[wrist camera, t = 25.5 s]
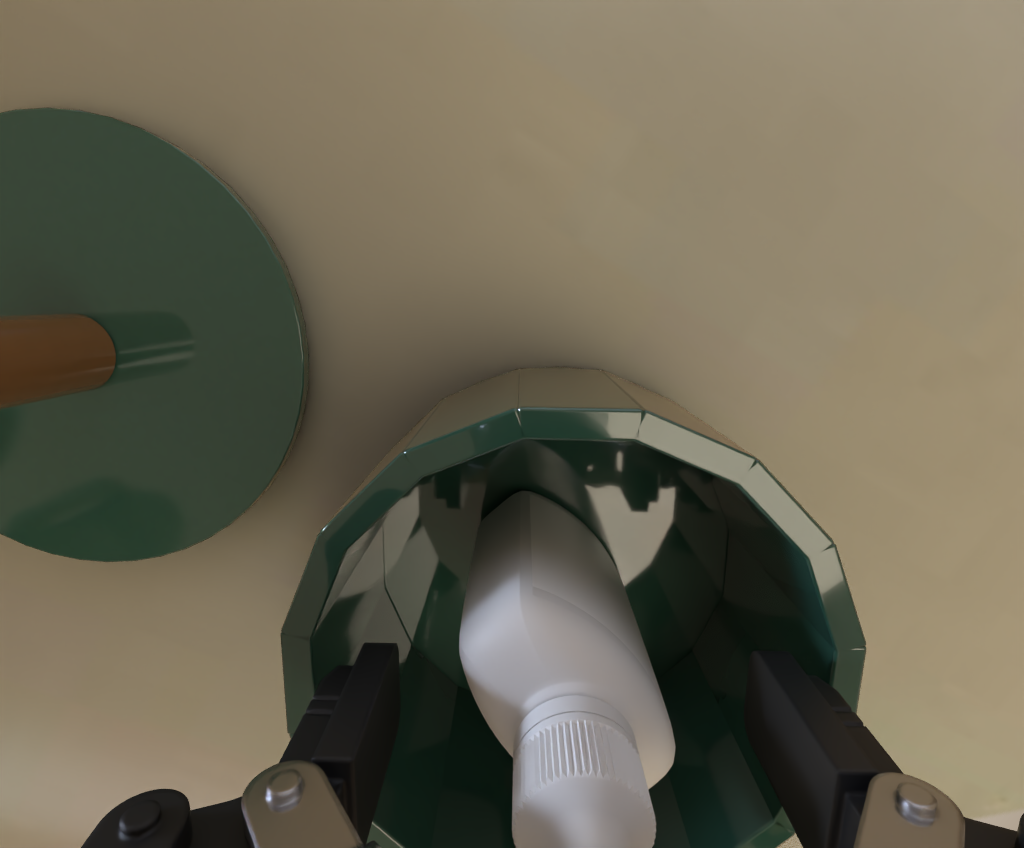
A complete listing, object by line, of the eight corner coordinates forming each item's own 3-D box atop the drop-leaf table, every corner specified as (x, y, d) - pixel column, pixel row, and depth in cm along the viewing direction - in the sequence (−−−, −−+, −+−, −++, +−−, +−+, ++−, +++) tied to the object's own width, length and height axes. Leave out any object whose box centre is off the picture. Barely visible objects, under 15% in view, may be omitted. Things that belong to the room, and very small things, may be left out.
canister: (360, 363, 20) (263, 402, 12) (759, 370, 19) (904, 413, 12) (373, 712, 22) (300, 916, 15) (724, 721, 22) (825, 932, 15)
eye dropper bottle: (600, 469, 20) (717, 724, 8) (631, 622, 21) (772, 1044, 9) (471, 496, 20) (397, 780, 8) (508, 645, 21) (489, 1084, 9)
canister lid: (-154, 115, 18) (-442, 37, 13) (303, 121, 18) (208, 43, 13) (-68, 545, 21) (-274, 631, 16) (326, 553, 21) (256, 643, 16)
